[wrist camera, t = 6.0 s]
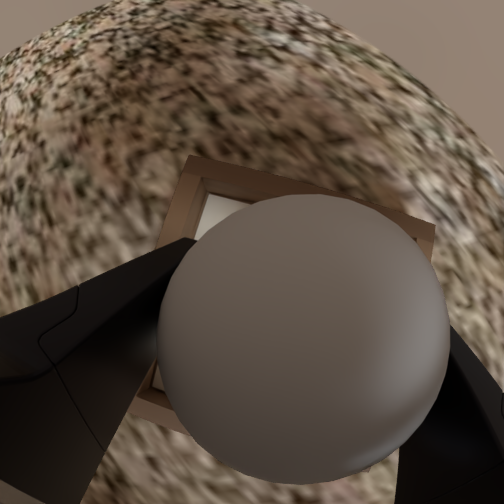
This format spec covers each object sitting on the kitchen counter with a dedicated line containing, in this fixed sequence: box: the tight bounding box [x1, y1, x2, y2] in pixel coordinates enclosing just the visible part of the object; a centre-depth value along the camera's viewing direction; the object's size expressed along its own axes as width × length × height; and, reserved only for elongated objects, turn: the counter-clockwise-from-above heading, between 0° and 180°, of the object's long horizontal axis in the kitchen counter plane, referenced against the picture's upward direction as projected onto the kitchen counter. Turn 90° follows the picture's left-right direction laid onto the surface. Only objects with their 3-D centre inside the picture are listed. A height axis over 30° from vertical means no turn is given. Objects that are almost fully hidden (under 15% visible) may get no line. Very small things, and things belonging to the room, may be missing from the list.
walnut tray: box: [127, 155, 436, 472], centre depth 15 cm, size 13×13×3 cm
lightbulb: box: [156, 194, 450, 485], centre depth 9 cm, size 6×6×11 cm
